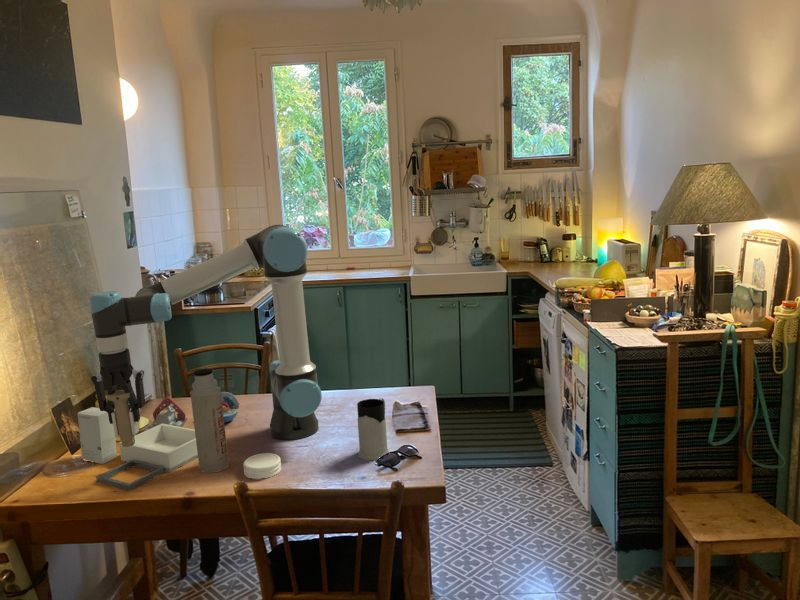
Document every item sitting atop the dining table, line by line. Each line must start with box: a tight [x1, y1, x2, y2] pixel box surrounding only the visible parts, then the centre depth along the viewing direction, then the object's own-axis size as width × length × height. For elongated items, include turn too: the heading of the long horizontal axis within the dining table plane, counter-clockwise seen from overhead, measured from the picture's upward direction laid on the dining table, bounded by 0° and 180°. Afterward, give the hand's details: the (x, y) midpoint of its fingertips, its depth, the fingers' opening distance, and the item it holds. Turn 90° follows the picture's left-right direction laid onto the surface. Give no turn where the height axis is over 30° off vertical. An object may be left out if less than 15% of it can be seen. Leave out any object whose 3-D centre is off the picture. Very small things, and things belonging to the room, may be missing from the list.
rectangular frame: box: [95, 460, 166, 492], centre depth 186 cm, size 13×12×2 cm
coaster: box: [243, 452, 282, 480], centre depth 185 cm, size 10×10×4 cm
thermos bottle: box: [189, 367, 230, 474], centre depth 187 cm, size 8×8×28 cm
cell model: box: [221, 391, 241, 424], centre depth 224 cm, size 10×12×10 cm
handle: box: [106, 389, 135, 447], centre depth 183 cm, size 5×6×15 cm
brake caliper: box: [147, 396, 188, 429], centre depth 218 cm, size 11×11×12 cm
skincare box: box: [77, 406, 118, 465], centre depth 198 cm, size 8×6×15 cm
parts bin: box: [118, 424, 198, 473], centre depth 199 cm, size 20×16×6 cm
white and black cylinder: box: [356, 397, 390, 461], centre depth 194 cm, size 9×14×15 cm, turn 160°
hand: (127, 433), depth 184 cm, fingers closed on handle, 4 cm apart
